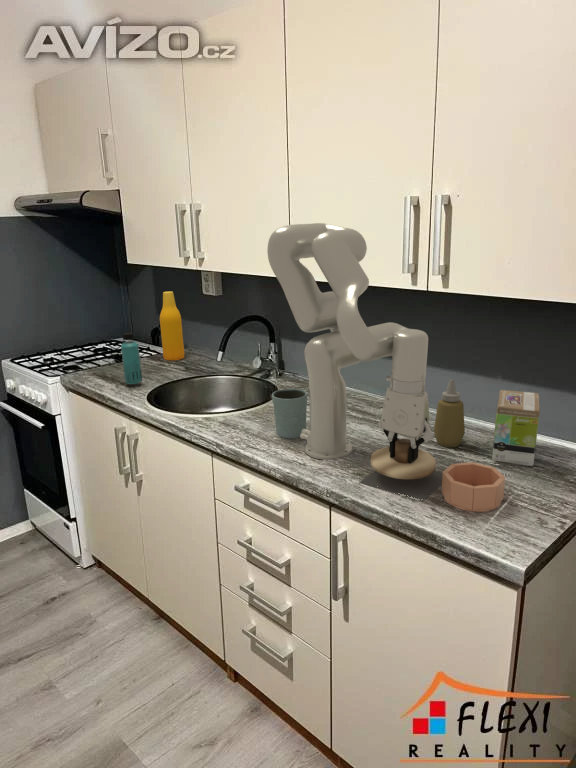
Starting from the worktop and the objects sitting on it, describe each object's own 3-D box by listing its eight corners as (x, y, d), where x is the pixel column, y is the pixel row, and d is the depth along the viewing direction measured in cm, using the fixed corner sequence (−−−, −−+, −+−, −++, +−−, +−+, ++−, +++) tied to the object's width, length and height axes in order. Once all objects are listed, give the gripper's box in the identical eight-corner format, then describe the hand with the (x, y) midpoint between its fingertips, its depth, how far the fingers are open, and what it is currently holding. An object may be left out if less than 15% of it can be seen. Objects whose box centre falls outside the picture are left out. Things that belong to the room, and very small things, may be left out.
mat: (358, 484, 137) (358, 482, 137) (392, 460, 149) (392, 459, 149) (421, 503, 127) (421, 501, 127) (452, 476, 139) (452, 475, 139)
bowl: (434, 502, 128) (435, 477, 126) (456, 482, 137) (458, 458, 135) (488, 519, 120) (490, 492, 119) (508, 496, 129) (511, 471, 128)
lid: (358, 466, 137) (359, 444, 135) (390, 445, 148) (391, 424, 146) (417, 485, 128) (419, 462, 126) (446, 461, 139) (448, 439, 137)
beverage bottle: (132, 389, 216) (126, 335, 210) (121, 386, 220) (115, 333, 214) (146, 384, 221) (141, 332, 215) (135, 381, 225) (129, 330, 219)
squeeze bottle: (427, 444, 158) (429, 380, 153) (443, 436, 164) (446, 374, 158) (454, 452, 153) (457, 386, 147) (469, 443, 158) (473, 379, 153)
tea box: (534, 467, 143) (540, 410, 139) (491, 462, 147) (495, 406, 142) (534, 444, 156) (539, 391, 152) (494, 440, 160) (498, 388, 156)
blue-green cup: (296, 441, 163) (295, 401, 159) (266, 435, 168) (264, 395, 164) (314, 429, 171) (313, 390, 168) (285, 424, 176) (283, 386, 173)
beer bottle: (163, 356, 262) (157, 291, 253) (184, 354, 263) (179, 290, 254) (163, 361, 253) (156, 294, 244) (184, 359, 254) (179, 293, 246)
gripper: (366, 381, 134) (364, 454, 140) (435, 397, 124) (428, 475, 130) (383, 373, 139) (380, 444, 145) (450, 387, 129) (443, 462, 135)
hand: (403, 457), depth 137 cm, fingers closed on lid, 4 cm apart
